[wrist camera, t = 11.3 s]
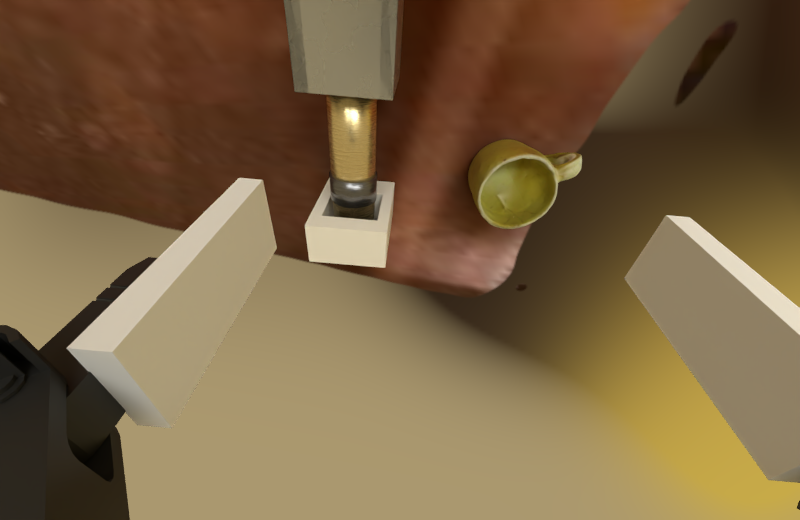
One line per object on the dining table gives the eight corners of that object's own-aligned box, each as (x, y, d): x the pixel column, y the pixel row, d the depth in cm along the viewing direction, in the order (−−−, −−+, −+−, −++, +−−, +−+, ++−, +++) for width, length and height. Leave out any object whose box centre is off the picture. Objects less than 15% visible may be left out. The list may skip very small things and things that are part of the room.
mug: (466, 224, 47) (488, 243, 38) (452, 151, 44) (472, 151, 34) (550, 202, 47) (593, 215, 37) (542, 127, 44) (587, 120, 34)
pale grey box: (314, -81, 30) (270, -112, 21) (408, -72, 30) (402, -100, 21) (324, 69, 37) (294, 91, 29) (399, 76, 38) (392, 100, 29)
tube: (328, 55, 33) (314, 64, 29) (382, 60, 33) (376, 69, 29) (337, 205, 44) (328, 228, 39) (378, 209, 44) (373, 232, 39)
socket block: (329, 176, 46) (304, 225, 36) (394, 182, 46) (387, 232, 36) (332, 208, 49) (309, 261, 39) (392, 213, 49) (385, 267, 39)
